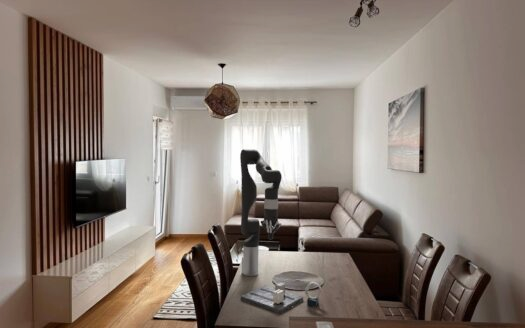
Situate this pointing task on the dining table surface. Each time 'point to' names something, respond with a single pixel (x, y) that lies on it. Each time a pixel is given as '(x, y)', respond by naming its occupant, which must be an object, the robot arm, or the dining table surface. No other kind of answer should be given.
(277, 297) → the fader white
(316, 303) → the watch
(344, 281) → the dining table surface
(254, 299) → the panel
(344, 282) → the dining table surface
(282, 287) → the fader grey
